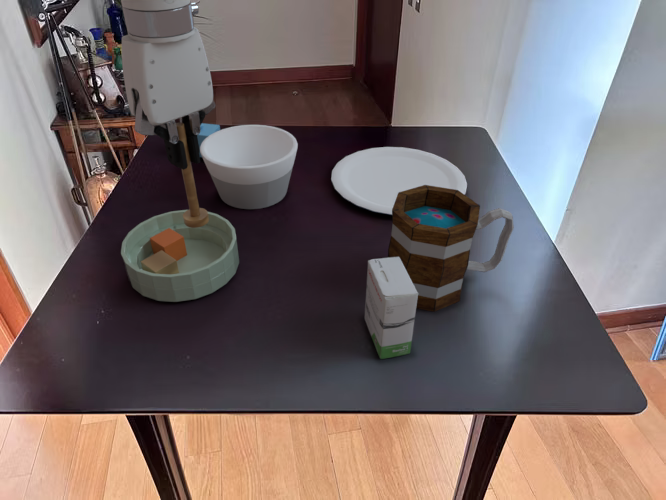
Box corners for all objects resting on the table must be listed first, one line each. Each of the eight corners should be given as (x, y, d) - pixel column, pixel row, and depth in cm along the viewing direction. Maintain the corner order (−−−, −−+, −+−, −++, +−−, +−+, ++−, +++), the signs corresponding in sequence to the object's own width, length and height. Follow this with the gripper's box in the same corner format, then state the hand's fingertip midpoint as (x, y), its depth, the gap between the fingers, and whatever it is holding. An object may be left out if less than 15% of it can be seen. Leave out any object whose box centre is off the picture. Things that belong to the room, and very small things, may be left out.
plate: (464, 159, 121) (465, 152, 120) (468, 229, 99) (469, 222, 98) (342, 147, 125) (342, 140, 124) (318, 212, 102) (318, 205, 101)
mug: (391, 314, 80) (401, 236, 71) (376, 260, 91) (383, 186, 82) (513, 306, 82) (537, 229, 73) (484, 254, 93) (502, 181, 83)
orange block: (168, 266, 87) (163, 247, 85) (154, 256, 89) (149, 238, 87) (187, 255, 90) (183, 236, 87) (173, 246, 92) (169, 227, 89)
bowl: (241, 161, 119) (236, 117, 112) (315, 181, 112) (314, 135, 105) (187, 201, 105) (178, 153, 98) (268, 226, 98) (264, 177, 92)
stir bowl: (173, 322, 78) (166, 293, 74) (108, 271, 87) (98, 243, 84) (261, 265, 89) (258, 237, 85) (195, 225, 98) (190, 198, 95)
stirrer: (194, 230, 74) (175, 132, 65) (179, 221, 76) (158, 125, 67) (214, 220, 77) (198, 123, 67) (198, 211, 78) (181, 116, 69)
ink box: (411, 354, 74) (421, 294, 67) (378, 360, 73) (384, 299, 66) (393, 313, 80) (400, 253, 73) (362, 317, 80) (366, 257, 72)
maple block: (159, 291, 82) (155, 272, 80) (145, 280, 84) (140, 261, 82) (180, 278, 85) (176, 260, 82) (166, 268, 87) (161, 249, 84)
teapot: (236, 151, 123) (233, 121, 118) (227, 163, 118) (224, 132, 113) (188, 146, 124) (183, 117, 119) (178, 158, 119) (172, 128, 115)
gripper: (193, 3, 66) (212, 136, 77) (79, 28, 57) (119, 175, 68) (232, 14, 62) (246, 151, 74) (117, 41, 53) (152, 195, 64)
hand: (185, 162), depth 71 cm, fingers closed on stirrer, 1 cm apart
